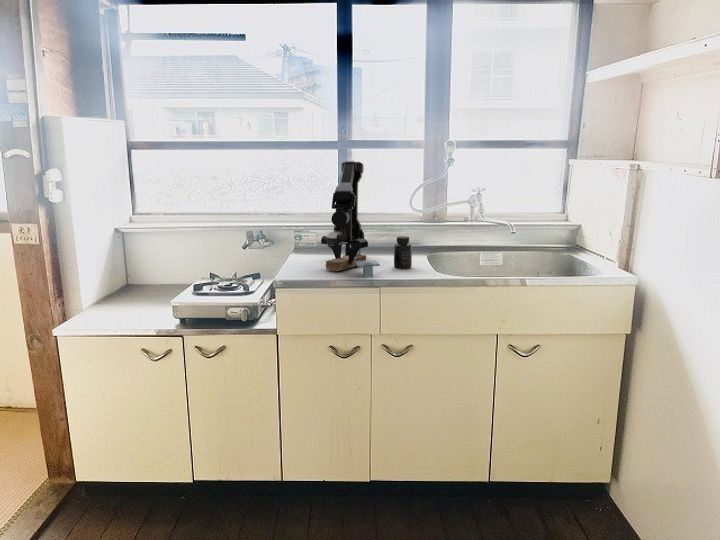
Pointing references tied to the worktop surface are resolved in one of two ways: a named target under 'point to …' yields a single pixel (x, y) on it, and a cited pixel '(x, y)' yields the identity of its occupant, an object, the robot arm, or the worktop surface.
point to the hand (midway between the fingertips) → (344, 263)
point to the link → (342, 263)
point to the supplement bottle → (402, 253)
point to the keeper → (367, 266)
